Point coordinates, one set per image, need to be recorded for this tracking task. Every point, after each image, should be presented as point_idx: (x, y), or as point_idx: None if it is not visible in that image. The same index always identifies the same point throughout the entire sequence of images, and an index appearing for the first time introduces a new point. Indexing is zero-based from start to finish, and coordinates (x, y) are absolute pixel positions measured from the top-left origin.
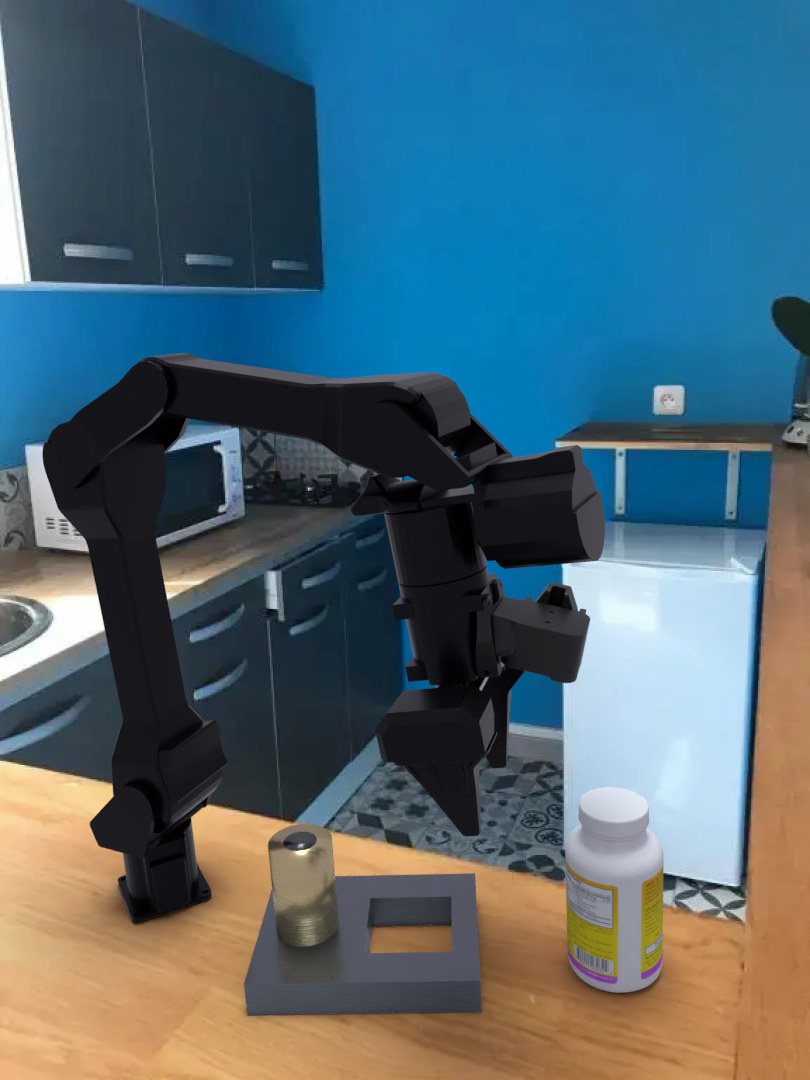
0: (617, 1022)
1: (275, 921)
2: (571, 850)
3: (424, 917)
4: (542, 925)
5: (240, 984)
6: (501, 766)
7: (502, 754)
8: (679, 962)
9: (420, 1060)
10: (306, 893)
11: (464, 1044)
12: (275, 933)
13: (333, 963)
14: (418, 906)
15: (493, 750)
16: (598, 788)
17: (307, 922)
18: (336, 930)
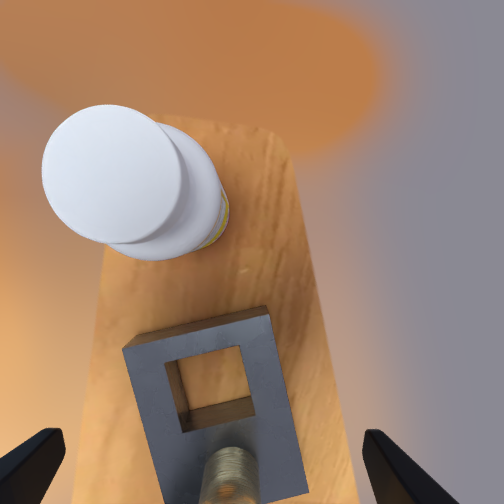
0: (255, 206)
1: None
2: (179, 250)
3: (176, 374)
4: (156, 274)
5: None
6: (61, 437)
7: (30, 465)
8: None
9: (317, 336)
10: None
11: (297, 310)
12: None
13: (273, 434)
14: (174, 385)
15: (22, 501)
16: (55, 209)
17: (257, 485)
18: (232, 447)
